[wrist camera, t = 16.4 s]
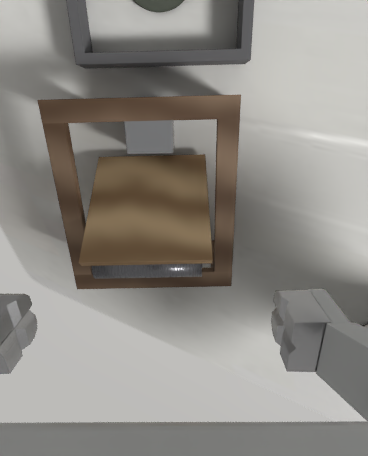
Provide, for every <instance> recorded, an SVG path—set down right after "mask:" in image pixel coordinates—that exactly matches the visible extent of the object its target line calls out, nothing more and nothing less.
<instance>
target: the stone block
mask: <svg viewBox="0 0 368 456" xmlns="http://www.w3.org/2000/svg"><path fill="white" fill-rule="evenodd" d="M124 124H125V134H126V145H127V154H155V153H173V151H174V122H173V120H163V121H124Z"/></svg>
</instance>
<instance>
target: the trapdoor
mask: <svg viewBox="0 0 368 456" xmlns="http://www.w3.org/2000/svg"><path fill="white" fill-rule="evenodd" d="M212 261H213V258H212V244H211V230H210V216H209V202H208V188H207V174H206V160H205V155H163V156H122V157H99V159H98V164H97V169H96V175H95V180H94V185H93V190H92V195H91V201H90V206H89V211H88V216H87V222H86V227H85V232H84V237H83V242H82V248H81V253H80V258H79V264H80V265H81V266H92V274H93V277H94V278H95V279H110V278H159V277H202V263H212Z"/></svg>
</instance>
